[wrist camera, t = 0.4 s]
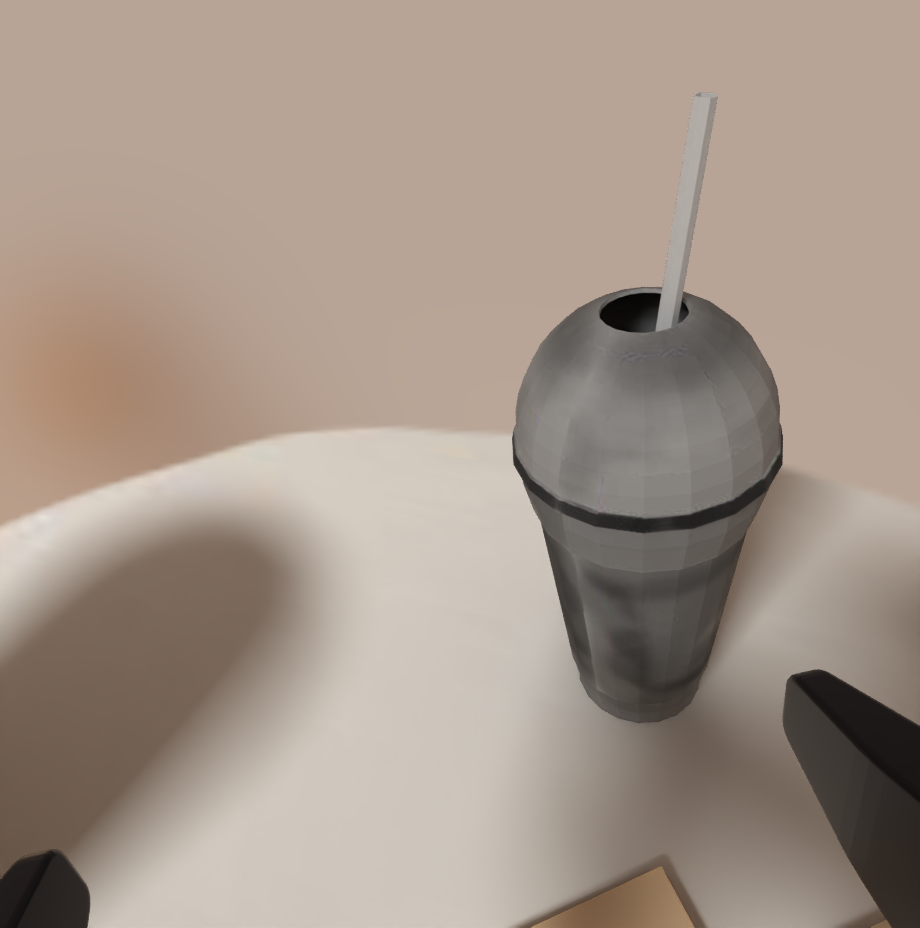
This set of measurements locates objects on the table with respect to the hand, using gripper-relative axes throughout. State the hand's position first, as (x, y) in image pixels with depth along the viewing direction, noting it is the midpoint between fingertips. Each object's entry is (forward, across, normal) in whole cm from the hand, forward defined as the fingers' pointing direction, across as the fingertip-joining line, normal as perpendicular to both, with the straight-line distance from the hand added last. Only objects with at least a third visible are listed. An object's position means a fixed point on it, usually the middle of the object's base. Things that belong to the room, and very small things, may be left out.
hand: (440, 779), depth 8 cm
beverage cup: (+13, -7, +14) cm, 20 cm away
